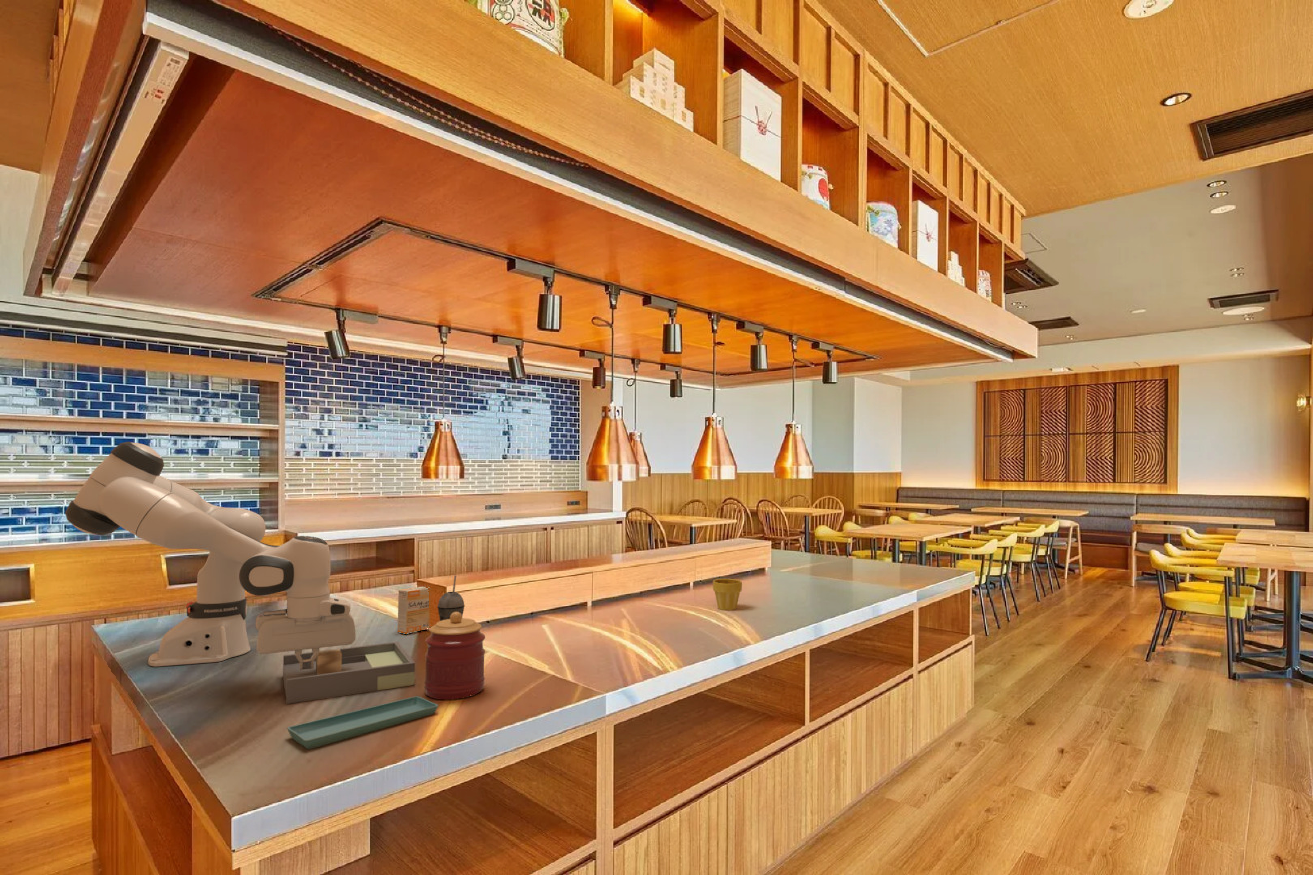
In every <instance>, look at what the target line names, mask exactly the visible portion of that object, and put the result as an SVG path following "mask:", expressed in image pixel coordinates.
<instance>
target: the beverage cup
mask: <svg viewBox="0 0 1313 875" xmlns="http://www.w3.org/2000/svg"><path fill="white" fill-rule="evenodd" d="M456 581H457V575H456V574H454V577H453V585H452V591H447V592H445V593H444V594H443V595H441V596H440V598H439V600H438V603H437V611H438V615H439V621H442V620H447V619H450V616H451V614H452V613H453V612H459V613H461V615H462V616H463V614H464V611H465V601H464V599H463V597H462V595H461V594H460V593H459V592H457V591H455V589H456V583H457V582H456Z"/></svg>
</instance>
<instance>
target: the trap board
mask: <svg viewBox="0 0 1313 875" xmlns="http://www.w3.org/2000/svg"><path fill="white" fill-rule="evenodd" d="M336 649H337V648H335V649H332V650H336ZM339 649H340V651H341V654H342V665H341V672H335V673H327V674H320V675H317V672H316V659H315V660H314V667H313V668H311V669H302V670H300V662H299V661H298V659H297V658H296V656H295V653H293V654H283V660H282V661H283V662H282V663H283V664H282V665H283V669H282V678H283V687H284V695H285V702H286V705H291V704H296V703H304V702H309V701H317V700H323V699H329V698H337V697H342V696H343V697H344V696H349V695H355V694H363V693H369V692H375V691H376V692H377V691H383V690H389V689H395V688H402V687H408V686H409V687H410V686H414V685H415V674H416V673H415V670H416V669H415V668H416V667H415V664H416V662H415V661H414V660H413V659H412V657H411V656H410V655H409V654H408V653H407V651H406V650H405V649H404V648H403V646H402V645H401V644H400V643H399V641H394V642H393V641H392V642H385V643H377V644H367V645H359V646H350V647H343V648H339ZM327 650H328V649H326V650H325V649H324V650H323V651H327ZM312 655H313V652H312V651H309V652H302V654H301V655H300V656H301V658H302V659H303V660H308V659H310V658H311V657H312Z"/></svg>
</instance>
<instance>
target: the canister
mask: <svg viewBox="0 0 1313 875" xmlns="http://www.w3.org/2000/svg"><path fill="white" fill-rule="evenodd" d="M481 629H483V628H482V624H480V623H478V622H476V620H474V619H473V618H463V615H461V613H459V612H453V613H452V614H451V616H450V619H447V620H442V621H440V620H439V621H437V622H436V623H435V624H434V625H432V626H431V627H429V632H430V633H431V634H430V635H429V636H427V637H426V638H425V641H424V642H425V643H426V645H427V652H426V653H425V654H424V657H425V658H424V659H425V681H424V690H425V695H426V696H428V697H429V698H431V699H435V700H445V701H446V700H447V701H449V700H460V699H459V698H461V699H464V698H463V697H466V698H468V697H467V696H470V695H473V696H475V695H474V694H476V695H478V694H479V693H478V692H480V691H481V690H482V689H483V690H484V686H485V682H486V681H485V654H486V650H485V648H484V641H485V639H486V635H485V634H484V633H483V632H482V631H480V630H481ZM483 690H482V691H483ZM482 691H481V692H482ZM481 692H480V693H481ZM477 693H478V694H477ZM470 697H471V696H470Z"/></svg>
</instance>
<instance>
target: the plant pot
mask: <svg viewBox="0 0 1313 875" xmlns="http://www.w3.org/2000/svg"><path fill="white" fill-rule="evenodd" d="M742 590H743V582H742V580H740V579H736V578H735V579H734V578H718V579H717V578H716V579H714V580H712V591H713V592H714V594H715V599H716V600H715V601H716V605H717V609H719V610H722V611H735V610H736V609H737V607H738V601H739V598H740V594H741V592H742Z"/></svg>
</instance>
